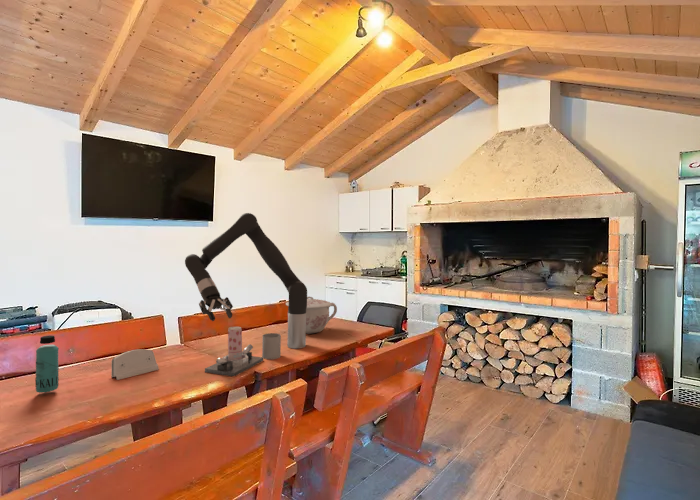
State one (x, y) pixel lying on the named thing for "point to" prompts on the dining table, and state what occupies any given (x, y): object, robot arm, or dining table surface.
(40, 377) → the beverage bottle
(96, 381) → the dining table surface
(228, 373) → the base
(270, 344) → the cup
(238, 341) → the beverage can
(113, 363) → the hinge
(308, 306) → the chamber pot
